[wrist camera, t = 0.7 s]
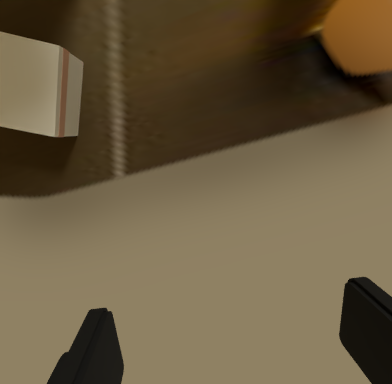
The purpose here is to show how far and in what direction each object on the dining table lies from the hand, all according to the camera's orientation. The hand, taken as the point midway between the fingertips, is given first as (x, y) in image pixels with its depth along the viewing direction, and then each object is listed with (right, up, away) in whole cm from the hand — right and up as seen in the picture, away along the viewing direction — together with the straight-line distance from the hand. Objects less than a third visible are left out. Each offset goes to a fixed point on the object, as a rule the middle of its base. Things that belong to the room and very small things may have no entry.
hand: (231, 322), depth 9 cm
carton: (-21, +18, +20) cm, 34 cm away
